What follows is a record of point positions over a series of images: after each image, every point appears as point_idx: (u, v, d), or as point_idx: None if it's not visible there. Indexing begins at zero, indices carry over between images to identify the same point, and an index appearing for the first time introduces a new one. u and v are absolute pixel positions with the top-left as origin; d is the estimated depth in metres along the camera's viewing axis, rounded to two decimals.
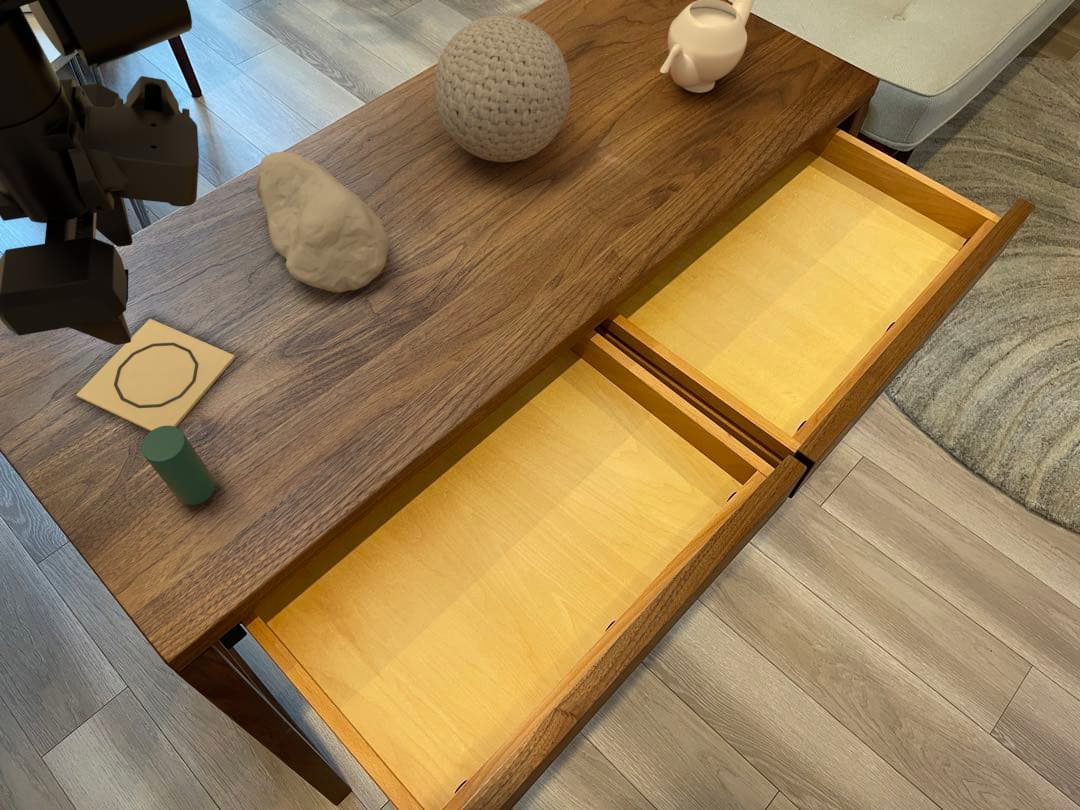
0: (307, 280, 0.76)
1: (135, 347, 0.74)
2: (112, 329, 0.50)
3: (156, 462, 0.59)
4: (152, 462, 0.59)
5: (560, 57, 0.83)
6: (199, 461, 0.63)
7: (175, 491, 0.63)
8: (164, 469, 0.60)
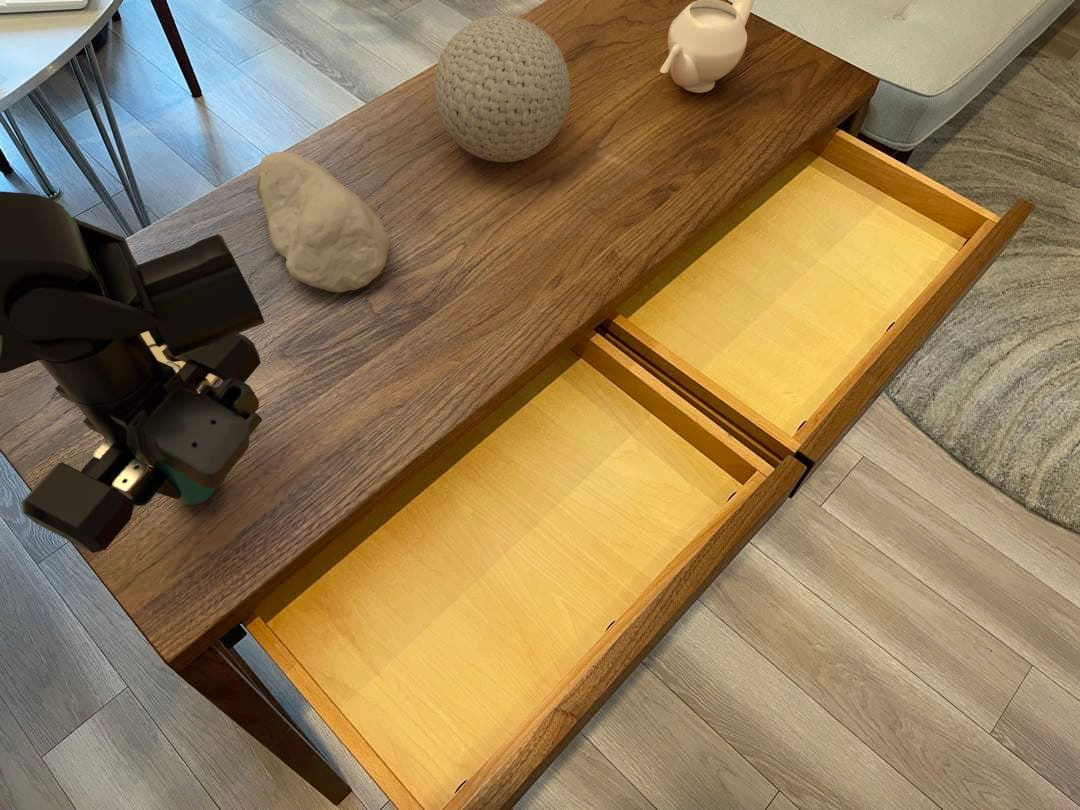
0: (307, 280, 0.76)
1: None
2: None
3: (156, 462, 0.59)
4: None
5: (560, 57, 0.83)
6: None
7: None
8: (164, 469, 0.60)
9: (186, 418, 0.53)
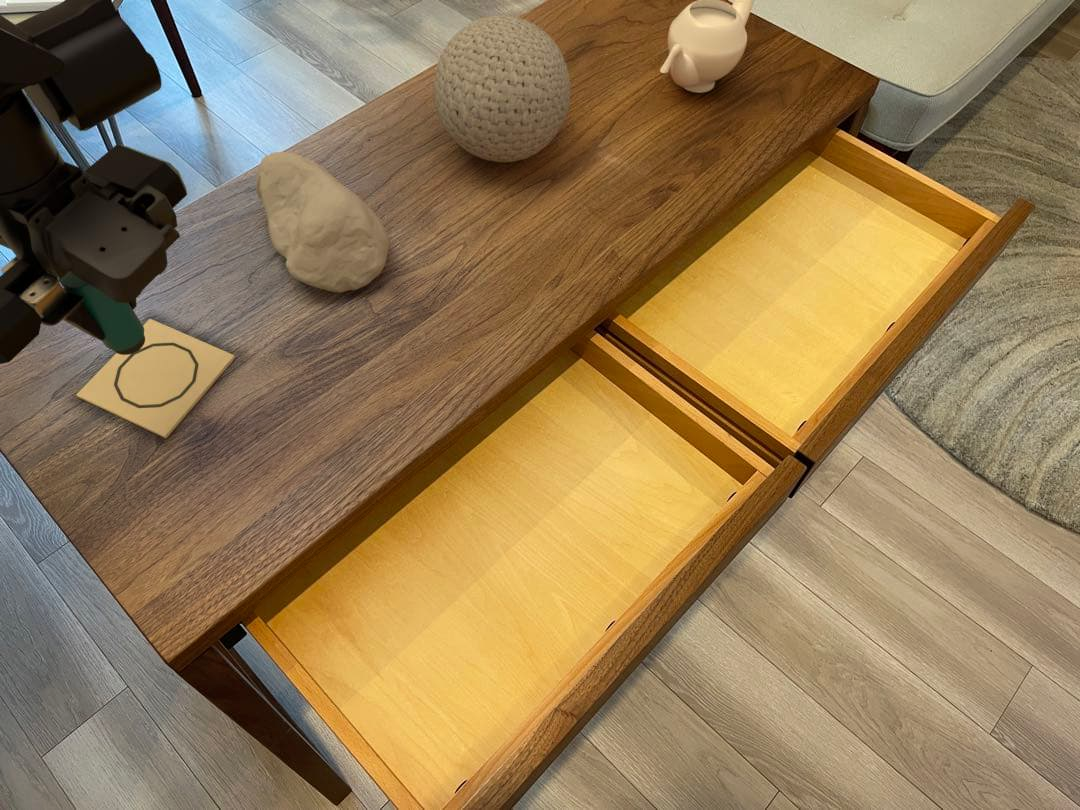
0: (307, 280, 0.76)
1: None
2: (80, 327, 0.58)
3: (73, 288, 0.56)
4: (69, 289, 0.56)
5: (560, 57, 0.83)
6: None
7: None
8: None
9: (95, 223, 0.50)
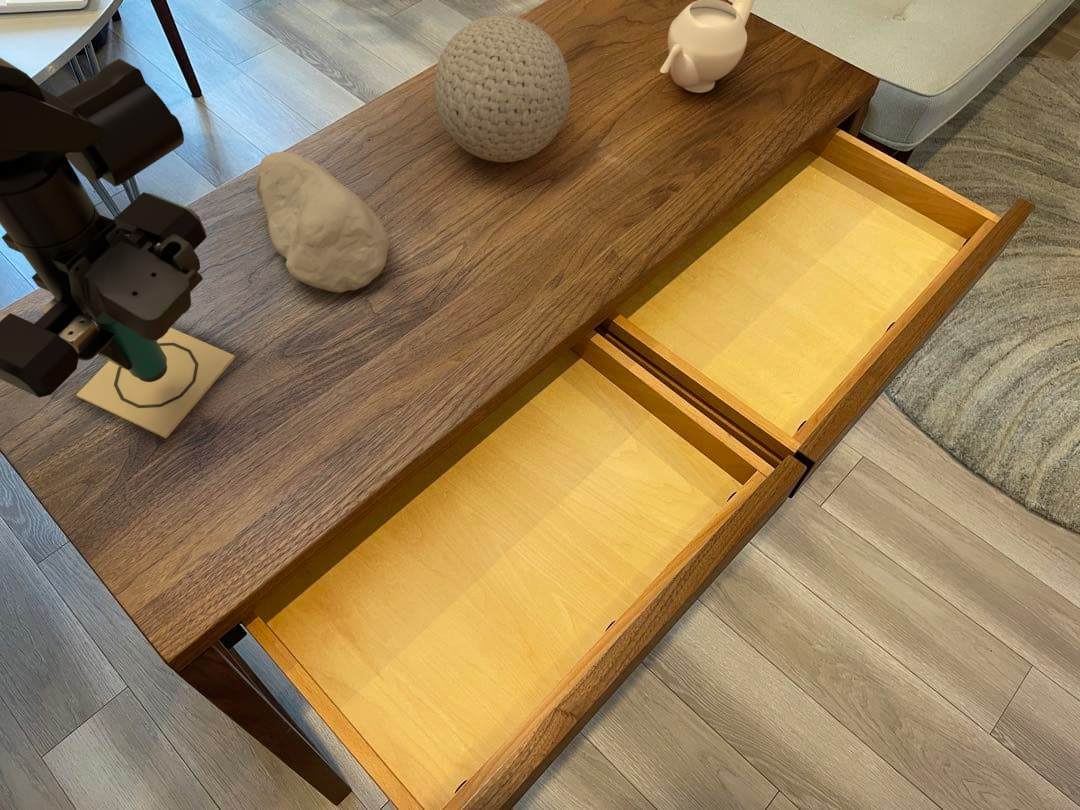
0: (307, 280, 0.76)
1: None
2: (109, 359, 0.64)
3: (105, 325, 0.62)
4: (101, 325, 0.62)
5: (560, 57, 0.83)
6: None
7: None
8: None
9: (127, 269, 0.56)
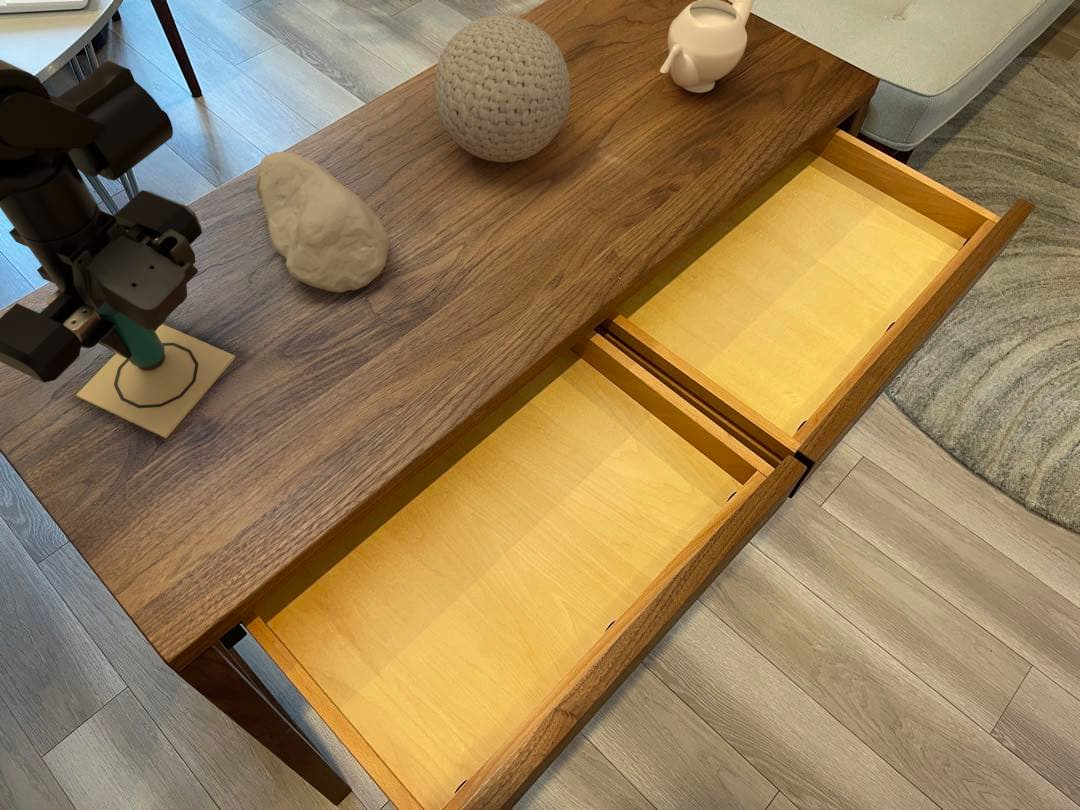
0: (307, 280, 0.76)
1: None
2: (110, 348, 0.68)
3: (106, 315, 0.65)
4: (102, 316, 0.65)
5: (560, 57, 0.83)
6: None
7: None
8: None
9: (127, 262, 0.60)
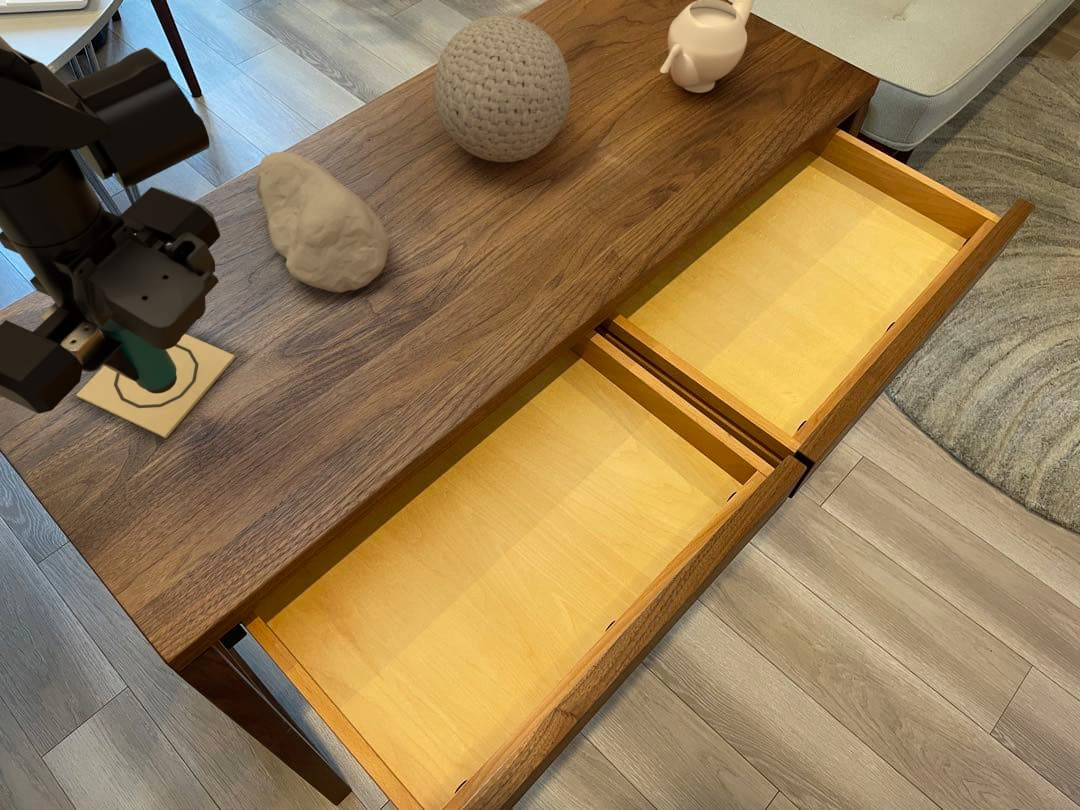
0: (307, 280, 0.76)
1: None
2: (115, 370, 0.58)
3: (110, 332, 0.56)
4: (106, 333, 0.56)
5: (560, 57, 0.83)
6: None
7: None
8: None
9: (136, 271, 0.51)
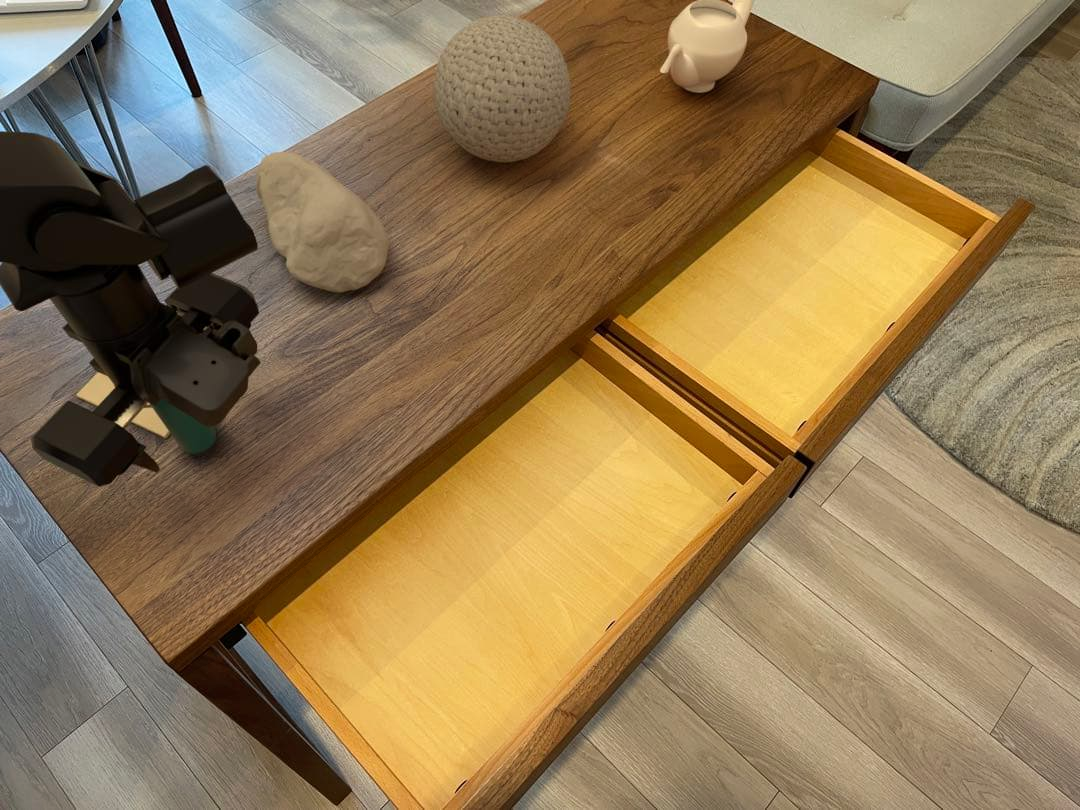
0: (307, 280, 0.76)
1: None
2: None
3: (160, 407, 0.61)
4: (156, 407, 0.61)
5: (560, 57, 0.83)
6: None
7: (178, 439, 0.66)
8: (167, 415, 0.62)
9: (188, 358, 0.55)
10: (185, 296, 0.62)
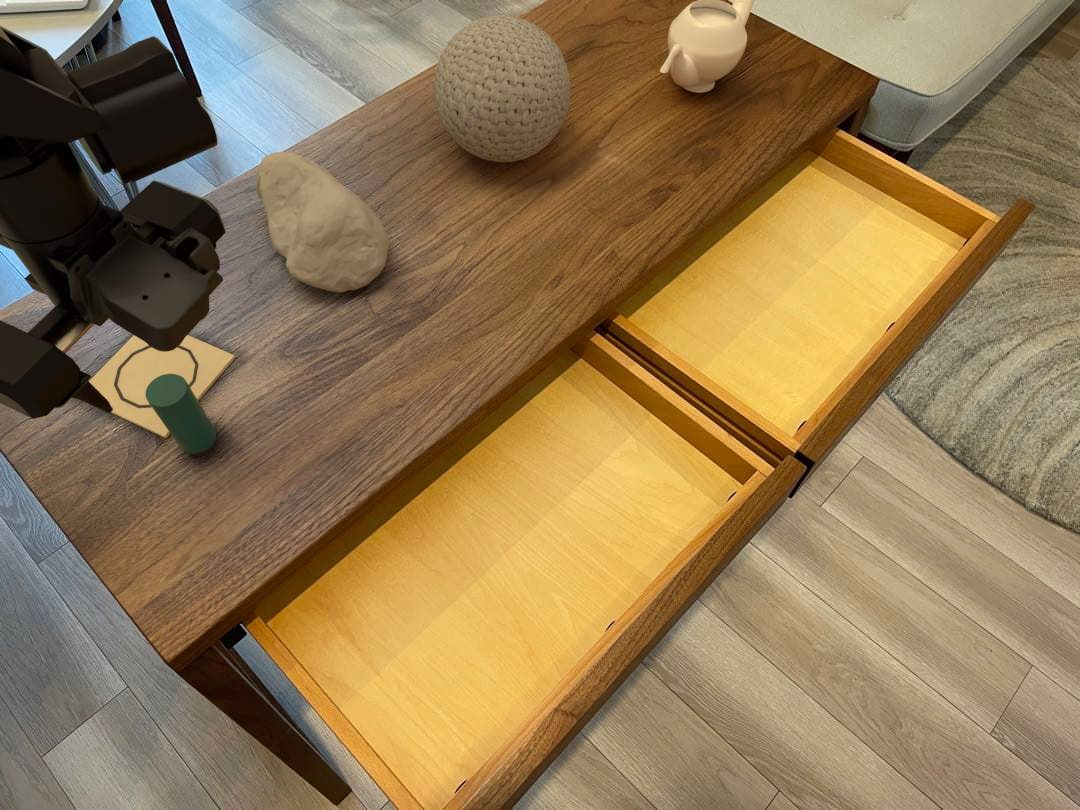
0: (307, 280, 0.76)
1: (135, 347, 0.74)
2: None
3: (160, 407, 0.61)
4: (156, 407, 0.61)
5: (560, 57, 0.83)
6: (201, 409, 0.65)
7: (178, 439, 0.66)
8: (167, 415, 0.62)
9: (136, 269, 0.48)
10: (139, 209, 0.54)
